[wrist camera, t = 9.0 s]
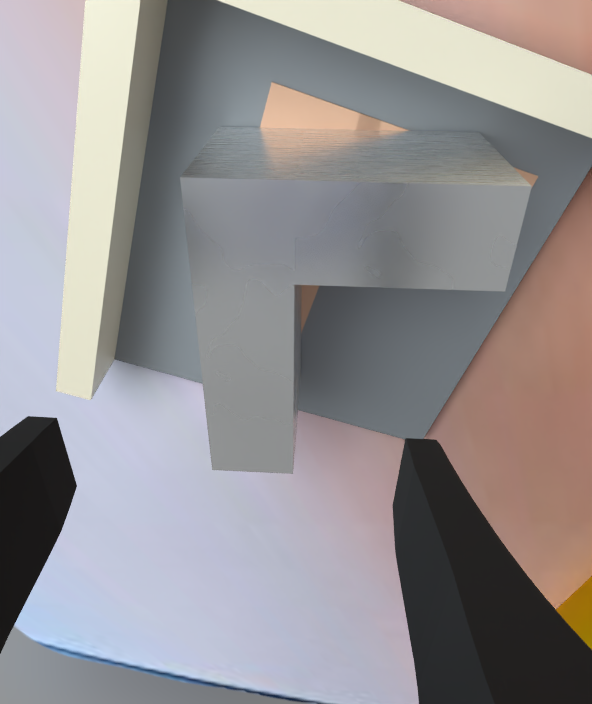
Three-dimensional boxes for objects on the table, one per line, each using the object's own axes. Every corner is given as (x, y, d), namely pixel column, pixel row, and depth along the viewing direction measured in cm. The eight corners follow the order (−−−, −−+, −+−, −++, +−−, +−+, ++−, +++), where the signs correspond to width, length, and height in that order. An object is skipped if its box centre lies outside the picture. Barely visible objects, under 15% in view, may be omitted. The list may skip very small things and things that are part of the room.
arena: (627, 90, 15) (685, 111, 13) (418, 433, 23) (429, 489, 21) (138, -99, 14) (93, -117, 11) (89, 342, 21) (55, 391, 19)
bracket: (431, 381, 21) (456, 481, 17) (235, 373, 21) (212, 469, 17) (478, 132, 16) (531, 186, 11) (219, 126, 16) (180, 177, 12)
